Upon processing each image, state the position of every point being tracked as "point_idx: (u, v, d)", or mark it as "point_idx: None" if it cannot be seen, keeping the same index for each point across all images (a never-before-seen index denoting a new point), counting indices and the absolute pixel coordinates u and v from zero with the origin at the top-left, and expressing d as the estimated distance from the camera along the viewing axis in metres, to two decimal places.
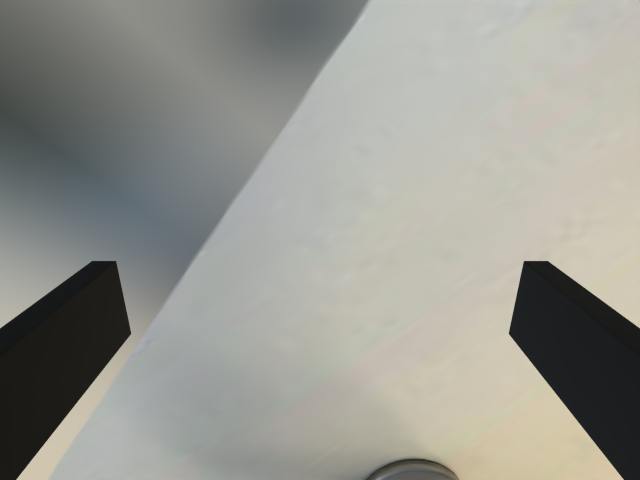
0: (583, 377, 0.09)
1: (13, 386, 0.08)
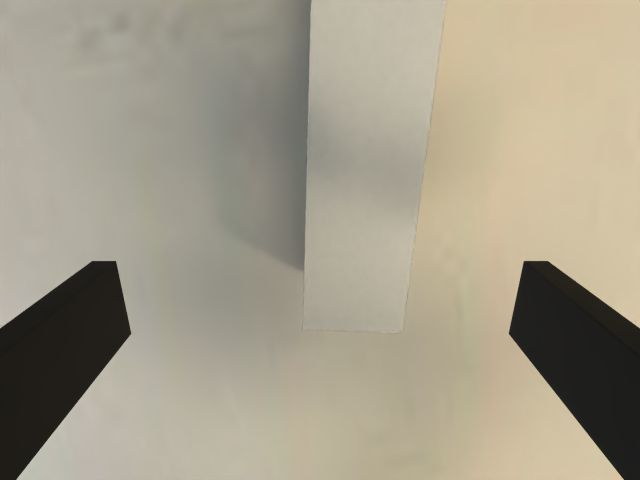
0: (583, 377, 0.09)
1: (12, 386, 0.08)
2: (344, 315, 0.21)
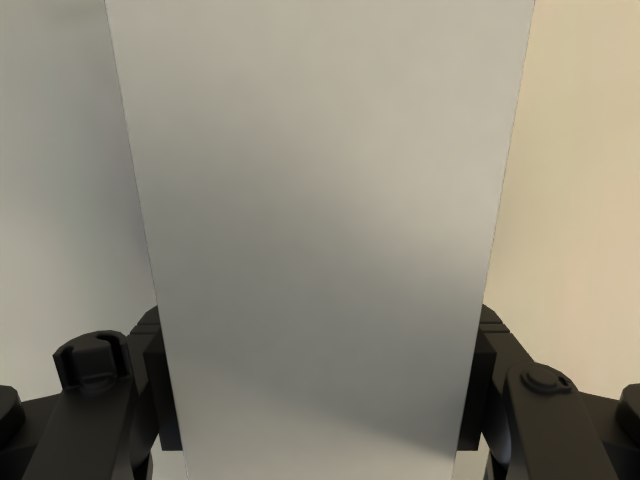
0: None
1: None
2: None
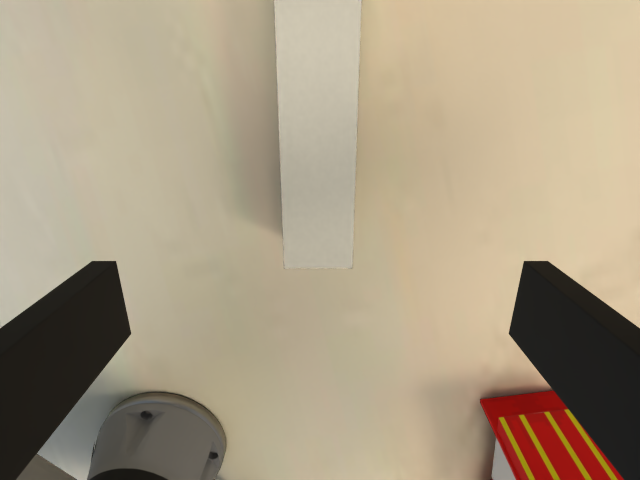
0: (583, 377, 0.09)
1: (12, 387, 0.08)
2: (311, 257, 0.31)
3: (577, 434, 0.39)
